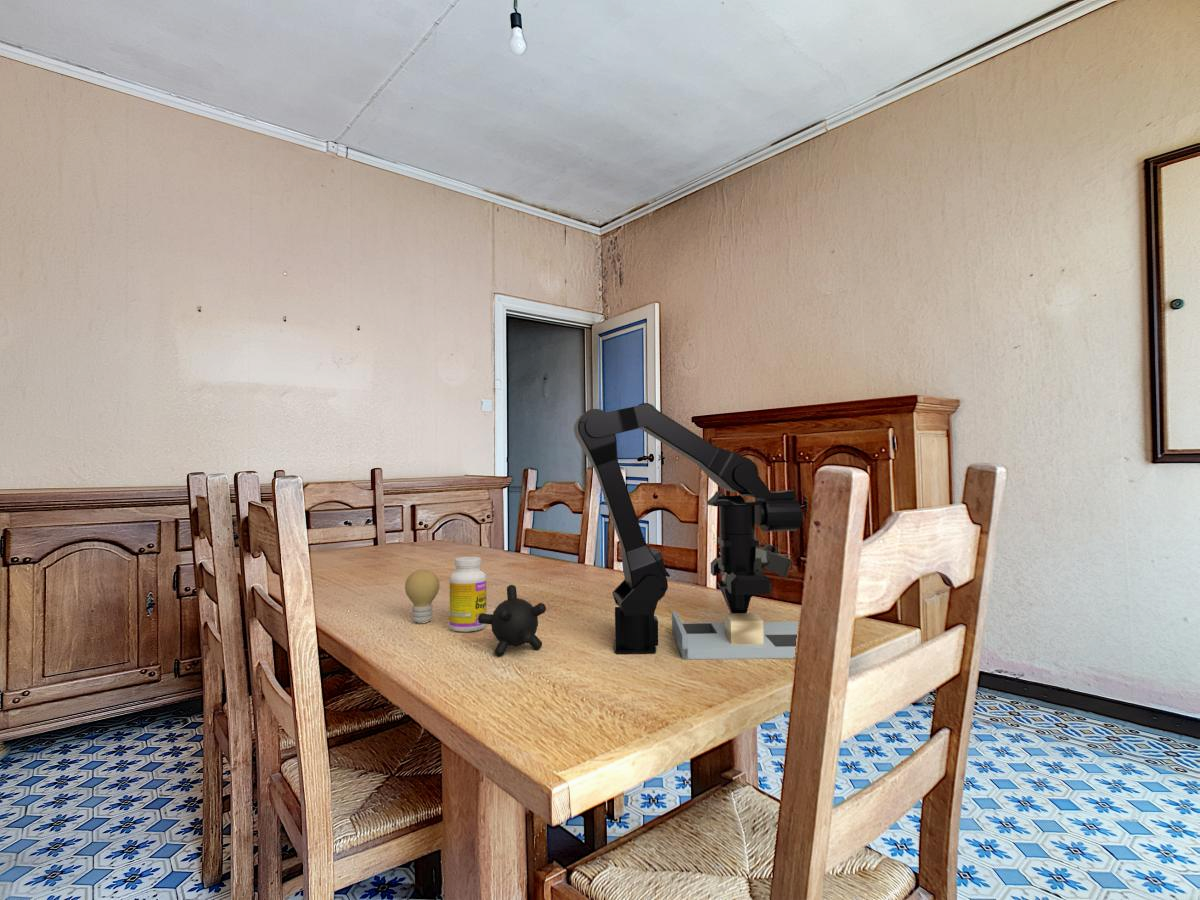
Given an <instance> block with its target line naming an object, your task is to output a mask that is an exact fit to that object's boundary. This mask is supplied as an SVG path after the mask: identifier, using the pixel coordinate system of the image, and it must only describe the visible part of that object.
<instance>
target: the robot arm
mask: <svg viewBox="0 0 1200 900" xmlns="http://www.w3.org/2000/svg"><path fill="white" fill-rule="evenodd" d="M638 429H639V430H642V431H643V432H645V433H646V434H648V435H649V436H651V437H652V438H653V439H654V438H655V439H656V440H657V441H658V442H661V443H662V444H664V445H666V446H667V447H668V448H670V449H672V450H673V451H675V452H677V453H678V454H680V455H681V456H683V457H685V458H686V459H687V460H689V461H691V462H692V463H694V464H696V465H697V466H698V467H699V468H700V469H701V470H702V471H703V473H704V474H705V475H706V476H707V477H708V478H709V479H710V480H711V481H712V482H713V483H714V484H716V485H717V486H718V487H719V488H721V489H722V490H725V492H726V491H727V492H736V493H738V494H739V495H738V494H737V495H725V494H724V492H722V491H718V490H717V491H715V493H714V494H713V496H712V497H710V498H709V499H708V500H707V501H706V505H707V506H712V507H719V532H720V533H719V536H718V537H717V544H719V547H720V557H715V558H713V560H712V561H711V562H710V574H711V575H712V576H714V577H716V576H717V575H718V574H721V580H718V581H717V582H716V583H717V585H718V587H719V590H720V592H721V594H722V596H723V598H724V601H725V604H726V606H727V608H728V610H729V613H748V610H749V606H750V603H751V599H752V598H753V597H754V595H771V594H772V593H773V587H772V586H773V584H772V582H773V581H772V580H771V579H769V578H768V576H767V575H766V574H764V573H762V571H763V570H764V571H767V572H770V573H773V574H776V575H779V577H781V578H785V579H786V578H787V577H788V575H789V571H790V568H791V566H792V563H793V559H791V558H789V557H787V556H786V555H782V554H780V553H779V551H778V547H776V546H774V545H772V544H769V543H766V544H765V545H764V546H763V547H761V542H760V541H759V539H757V538H756V526H757V527H758V526H759V528H760V530H761V531H762V532H792V531H795V532H796V531H798V530H800V528H801V526H802V524H803V515H804V513H803V510H802V508H801V505H800V502H799V500H798V499H797V497H796V491H795V490H790V489H789V490H788V489H787V490H785V489H784V490H781V491H771V490H770V489H769V488H768V486H767V485H766V484H765V482H764V481H763V479H762V478H761V477H760V476H759V469H758V465H757V464H756V462H755V461H753V460H752V459H750V458H749V457H746V456H745V455H744V456H743V455H742V454H739V453H736V452H733V451H731V450H727V449H726V448H725V449H724V448H722V447H718V446H716V445H714V444H712V443H710V442H709V441H707V440H705V439H704V438H703V437H701V436H699V435H698V434H696V433H694V432H693V431H692V430H690V429H688V428H687V427H685V426H683V425H682V424H680V423H679V422H677V421H676V420H674V419H672V418H671V417H669V416H668V415H666V414H664V413H663V412H661V411H659V410H658V409H657V408H656V407H655V406H654V405H653V404H651V403H649V402H642V403H639V404H638V405H636V406H630V407H629V406H628V407H625V408H619V409H615V410H611V411H607V412H606V411H605V410H603V409H600V408H592V409H588V410H587V411H585V412H583V413H582V414H580V416H578V417H577V418H576V420H575V422H574V425H573V433H574V437H575V438H576V440H577V442H578V443H579V446H580V447H581V450H582V451H583V452H584V455H585V456H586V457H587V459H588V461H589V463H590V464H591V465H592V467H593V469H594V472H595V475H596V477H597V480H598V483H599V486H600V490H601V492H602V495H603V498H604V500H605V504H606V506H607V510H608V512H609V513H608V514H609V516H610V519H611V522H612V525H613V527H614V530H615V533H616V536H617V540H618V542H619V545H620V548H621V559H622V560H621V563H622V570H623V576H624V579H622V580H623V581H621V582H620V584H618V586H617V587H616V588H614V590H613V591H612V593H611V594H612V598H613V599H614V603H615V604H616V605H617V606H615V607H614V631H615V632H614V636H615V637H614V638H615V639H614V653H615V654H651V653H652V654H653V653H654V654H656V653H657V647H658V646H659V620H658V617H657V616H656V615H655V611H656V609H657V605H658V603H659V601H660V600H662V598H663V597H665V594H666V592H667V590H668V587H669V584H668V578H670V577H671V575H670V573H669V572H668V571H667V568H666V567H665V563H664V558H663V557H664V556H663V553H662V552H661V551H660V550H658V549H657V548H655V547H653V546H652V547H649V546H648V545H647V544H648V543H646V539H645V537H644V534H643V532H642V528H641V525H640V523H639V519H638V516H637V512H636V511H635V509H634V508H635V507H634V505H633V502H632V499H631V497H630V494H629V493H630V492H629V491H628V488H627V487H628V486H627V484H626V481H625V478H624V475H623V472H622V470H621V466H620V463H619V459H618V442H617V437H616V436H617V434H622V433H625V432H629V431H633V430H638ZM744 497H749V498H754V499H755V500H745V499H744ZM667 577H668V578H667Z"/></svg>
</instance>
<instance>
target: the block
mask: <svg viewBox="0 0 1200 900" xmlns="http://www.w3.org/2000/svg"><path fill="white" fill-rule="evenodd" d="M723 616H724V617H723V619H724V622H725V636H726V637H727V639H728V640H729V642H730V643H731V644H764V638H763V622H764V619H762V618H761V617H760V616H759V615H758V614H757V613H755V612H747V613H730V612H729V613H728V612H727V613H724V615H723Z"/></svg>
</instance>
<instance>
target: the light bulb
mask: <svg viewBox="0 0 1200 900" xmlns="http://www.w3.org/2000/svg"><path fill="white" fill-rule="evenodd" d="M404 590H405V594H406V596H407V597H408V599H409V600H410V601H411V603H412V604H413V605H412V608H411V609H412V612H411V613H412V618H411V619H412V621H413V622H414V623H415V622H426V621H430V620H431V621H432V620H433V619H434V616H433V613H434V612H433V604H432V603H433V602H434V601H433V600H435V598H436V596H437V595H438V593H439V590H440V579H439V577H438V576H437V575H436V574H435V572H434V571H431V570H429V569H418V570H415V571H413V572H412V573H410V574H409V576H407V578H406V581H405V584H404ZM431 621H430V622H431Z"/></svg>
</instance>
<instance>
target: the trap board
mask: <svg viewBox="0 0 1200 900" xmlns="http://www.w3.org/2000/svg"><path fill="white" fill-rule="evenodd" d="M671 623H672V624H671V627H672V629H671V630H672V635H673V637H674V640H675V643H676V646H677V649H678V651H679V653H680V656H681V659H682V660H734V659H735V660H736V659H737V660H742V659H743V660H747V659H749V660H750V659H751V660H752V659H755V660H757V659H758V660H762V659H795V658H794V655H795V648H796V638H797V628H798V620H796V621H795V620H794V621H763V638H764V644H731V643H730V642H729V640H728V639H727V637H726V636H725V621H723V622H720V621H719V622H718V621H717V622H716V621H715V622H713V621H712V622H682V620H681V618H680V616H679V614H678V612H677V610H675V611H671Z"/></svg>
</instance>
